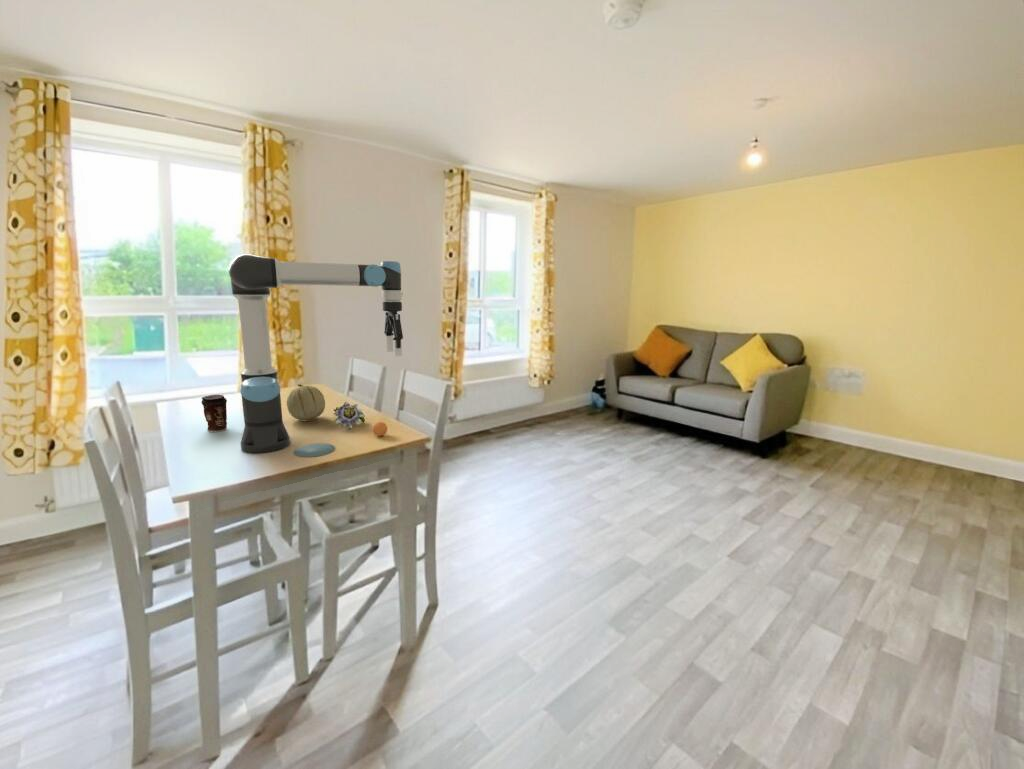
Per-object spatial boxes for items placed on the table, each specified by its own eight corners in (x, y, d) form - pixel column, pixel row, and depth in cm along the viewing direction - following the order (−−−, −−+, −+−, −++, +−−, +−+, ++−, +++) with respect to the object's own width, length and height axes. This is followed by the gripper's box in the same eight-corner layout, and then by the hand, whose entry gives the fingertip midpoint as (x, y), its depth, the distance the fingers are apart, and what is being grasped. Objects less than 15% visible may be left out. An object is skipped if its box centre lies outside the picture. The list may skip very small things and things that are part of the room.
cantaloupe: (317, 425, 187) (314, 389, 184) (281, 425, 188) (277, 388, 184) (332, 415, 202) (330, 381, 199) (298, 414, 202) (295, 380, 199)
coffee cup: (199, 430, 179) (195, 397, 176) (221, 424, 186) (217, 393, 183) (212, 434, 175) (208, 400, 172) (234, 428, 182) (231, 395, 179)
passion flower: (351, 441, 186) (334, 422, 178) (340, 430, 194) (323, 411, 186) (374, 423, 190) (358, 403, 182) (363, 412, 197) (347, 392, 189)
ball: (374, 439, 173) (373, 424, 172) (371, 434, 178) (370, 420, 177) (389, 437, 176) (388, 423, 175) (385, 432, 180) (385, 419, 179)
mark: (295, 459, 152) (295, 458, 152) (292, 447, 163) (292, 446, 163) (337, 453, 158) (337, 452, 158) (332, 441, 169) (332, 441, 169)
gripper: (410, 302, 179) (411, 357, 183) (393, 299, 200) (395, 349, 205) (390, 302, 176) (392, 358, 180) (375, 299, 197) (377, 350, 202)
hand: (393, 353), depth 193 cm, fingers open, 13 cm apart
